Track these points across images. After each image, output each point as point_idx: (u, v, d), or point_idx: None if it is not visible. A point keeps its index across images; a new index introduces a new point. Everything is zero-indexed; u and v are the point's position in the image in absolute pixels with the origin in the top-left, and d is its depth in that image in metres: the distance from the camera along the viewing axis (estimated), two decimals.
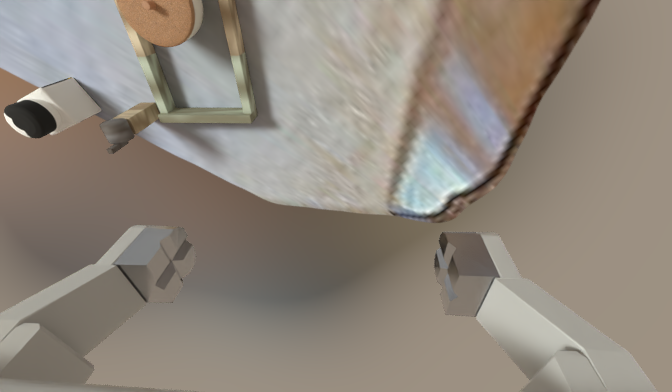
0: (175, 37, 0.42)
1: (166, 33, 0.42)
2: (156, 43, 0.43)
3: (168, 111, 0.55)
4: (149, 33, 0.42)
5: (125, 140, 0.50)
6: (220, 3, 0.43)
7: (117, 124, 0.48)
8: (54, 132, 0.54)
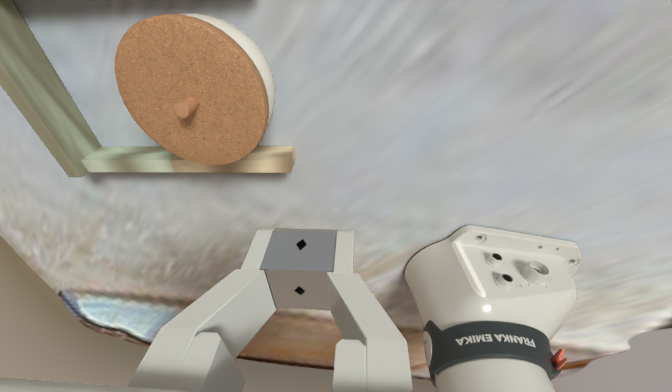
0: (149, 127, 0.22)
1: (149, 112, 0.21)
2: (118, 81, 0.20)
3: None
4: (132, 75, 0.19)
5: None
6: (238, 162, 0.29)
7: None
8: None
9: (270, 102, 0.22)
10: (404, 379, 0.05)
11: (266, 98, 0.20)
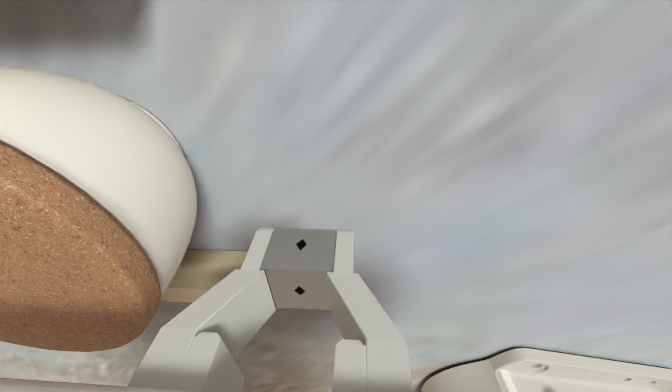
0: None
1: None
2: None
3: None
4: None
5: None
6: None
7: None
8: None
9: (164, 249, 0.10)
10: (404, 379, 0.05)
11: (137, 264, 0.09)
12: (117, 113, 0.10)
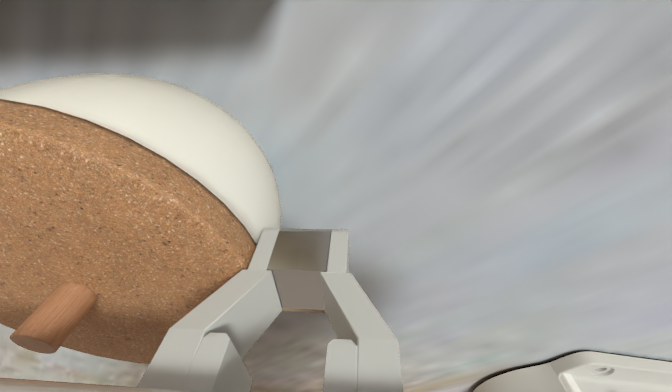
0: (3, 319, 0.10)
1: None
2: None
3: None
4: None
5: None
6: None
7: None
8: None
9: None
10: (395, 379, 0.05)
11: None
12: (224, 120, 0.10)
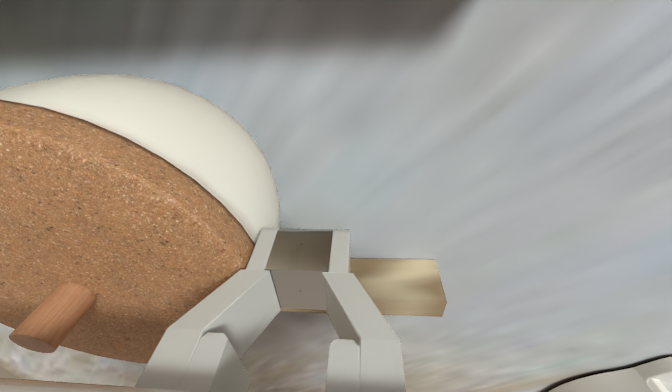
0: (4, 319, 0.10)
1: None
2: None
3: None
4: None
5: None
6: None
7: None
8: None
9: None
10: (397, 379, 0.05)
11: None
12: (223, 120, 0.10)
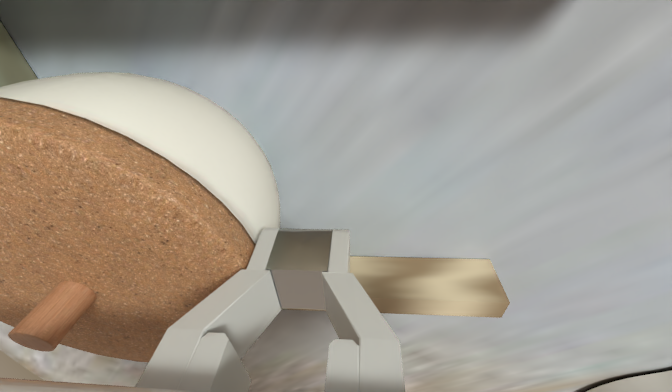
0: (3, 316, 0.10)
1: None
2: None
3: None
4: None
5: None
6: (410, 301, 0.16)
7: None
8: None
9: None
10: (396, 379, 0.05)
11: None
12: (224, 120, 0.10)
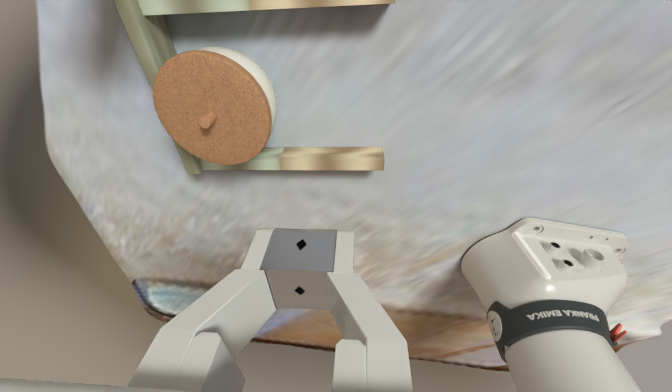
0: (177, 134, 0.28)
1: (177, 123, 0.27)
2: (155, 100, 0.26)
3: (146, 15, 0.26)
4: (166, 95, 0.25)
5: None
6: (339, 161, 0.33)
7: None
8: None
9: (272, 115, 0.28)
10: (404, 379, 0.05)
11: (269, 112, 0.26)
12: (257, 64, 0.27)
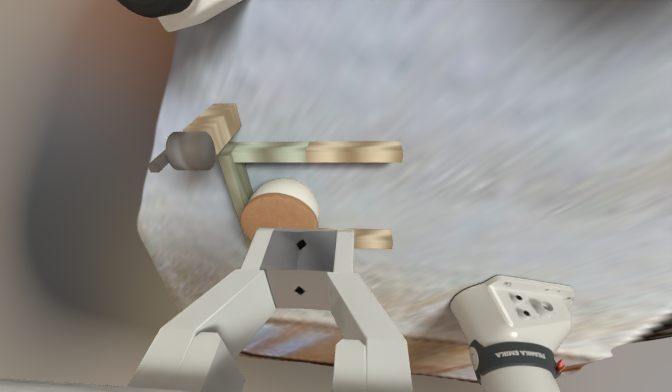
0: (253, 237, 0.40)
1: (255, 231, 0.40)
2: (242, 219, 0.38)
3: None
4: (251, 217, 0.38)
5: None
6: (360, 243, 0.46)
7: (206, 165, 0.30)
8: None
9: (318, 223, 0.40)
10: (404, 379, 0.05)
11: None
12: (307, 190, 0.40)
